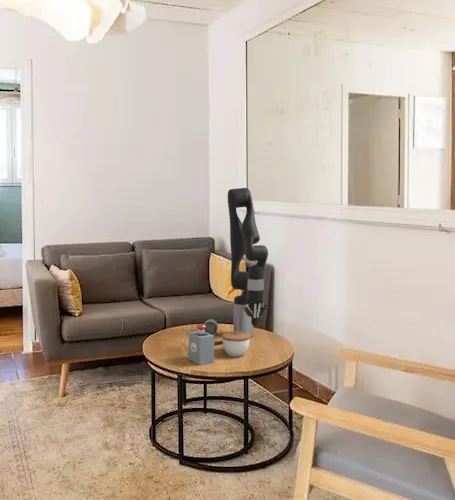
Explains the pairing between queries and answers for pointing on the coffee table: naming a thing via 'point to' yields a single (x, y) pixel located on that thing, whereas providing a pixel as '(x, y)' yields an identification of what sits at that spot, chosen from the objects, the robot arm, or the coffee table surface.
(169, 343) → the coffee table surface
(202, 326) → the plunger
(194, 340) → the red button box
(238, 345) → the lidded bowl
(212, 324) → the ceramic mug
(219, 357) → the coffee table surface
